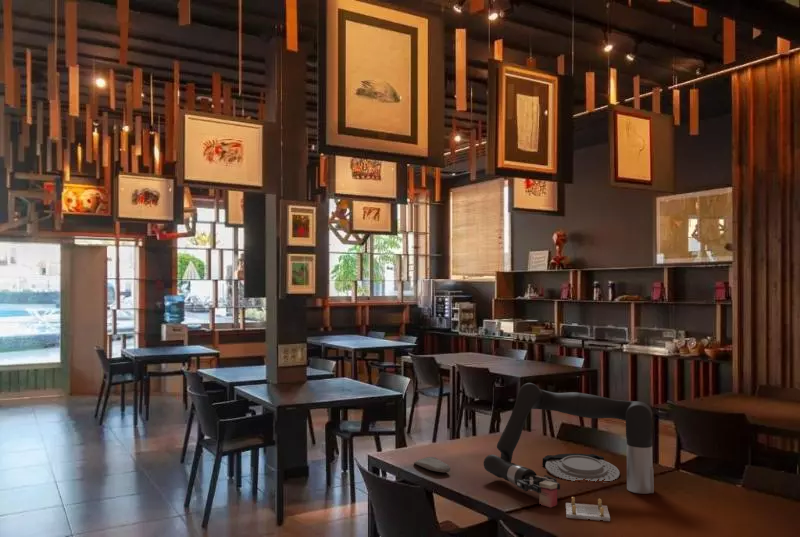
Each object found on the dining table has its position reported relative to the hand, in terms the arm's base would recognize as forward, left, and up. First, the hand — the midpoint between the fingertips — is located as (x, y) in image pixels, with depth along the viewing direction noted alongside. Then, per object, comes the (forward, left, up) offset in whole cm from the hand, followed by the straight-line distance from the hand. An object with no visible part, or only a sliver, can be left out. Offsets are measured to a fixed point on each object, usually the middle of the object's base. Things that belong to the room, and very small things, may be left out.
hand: (550, 488), depth 230 cm
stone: (+45, -38, -4) cm, 59 cm away
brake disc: (-13, -47, -7) cm, 49 cm away
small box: (+1, -1, -6) cm, 6 cm away
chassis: (-12, +5, -6) cm, 15 cm away
